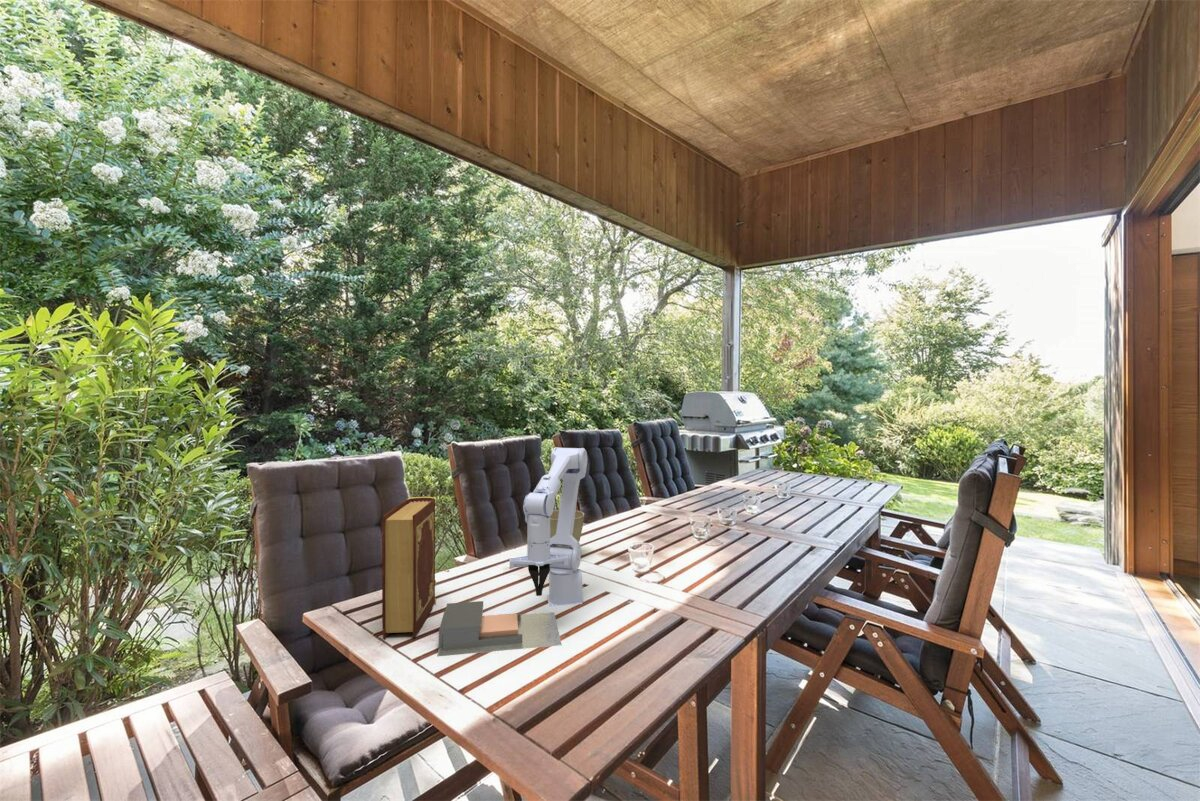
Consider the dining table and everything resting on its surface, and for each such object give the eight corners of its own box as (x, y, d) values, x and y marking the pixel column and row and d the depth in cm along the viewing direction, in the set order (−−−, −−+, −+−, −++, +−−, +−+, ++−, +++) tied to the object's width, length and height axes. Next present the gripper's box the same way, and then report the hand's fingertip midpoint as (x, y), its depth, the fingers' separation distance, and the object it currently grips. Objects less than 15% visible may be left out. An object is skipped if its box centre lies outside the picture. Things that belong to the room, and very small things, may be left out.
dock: (554, 614, 134) (554, 592, 134) (561, 647, 117) (561, 622, 117) (445, 622, 129) (445, 600, 129) (436, 659, 111) (436, 633, 111)
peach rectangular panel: (516, 622, 128) (516, 613, 128) (518, 639, 119) (518, 629, 119) (452, 628, 125) (452, 618, 125) (448, 645, 116) (448, 635, 116)
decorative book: (409, 601, 142) (409, 496, 142) (437, 601, 143) (437, 496, 142) (381, 640, 120) (381, 515, 119) (415, 639, 120) (415, 515, 120)
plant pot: (543, 552, 188) (543, 509, 187) (582, 551, 189) (582, 509, 189) (542, 565, 173) (543, 519, 173) (585, 564, 174) (585, 518, 174)
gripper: (509, 547, 120) (509, 602, 121) (569, 543, 123) (569, 598, 123) (509, 538, 127) (509, 591, 128) (566, 535, 130) (565, 587, 130)
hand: (538, 594), depth 126 cm, fingers closed
